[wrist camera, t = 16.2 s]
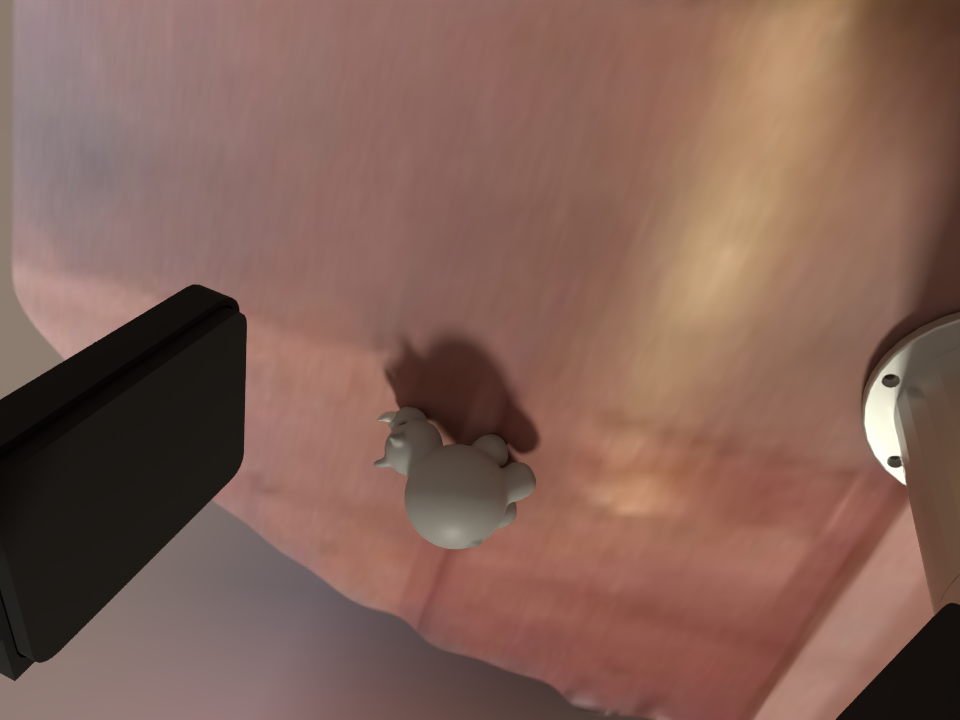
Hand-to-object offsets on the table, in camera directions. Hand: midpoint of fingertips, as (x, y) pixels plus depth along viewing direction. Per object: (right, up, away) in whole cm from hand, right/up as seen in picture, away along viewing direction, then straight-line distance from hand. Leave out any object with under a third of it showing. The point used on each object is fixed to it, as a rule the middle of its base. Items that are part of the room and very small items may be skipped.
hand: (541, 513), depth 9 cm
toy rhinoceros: (-2, -4, +45) cm, 45 cm away
